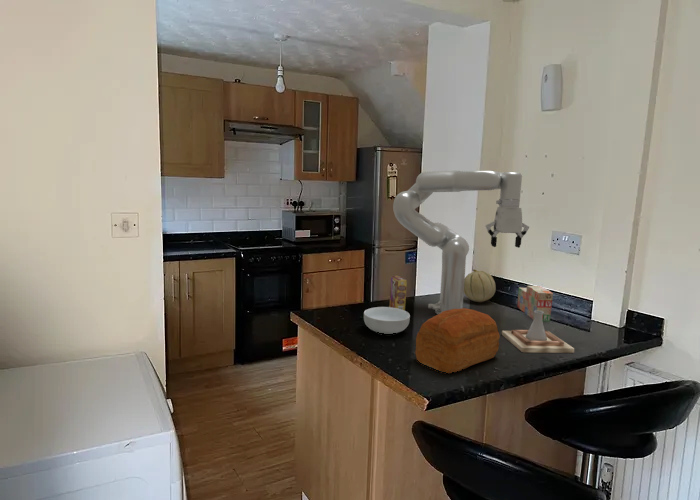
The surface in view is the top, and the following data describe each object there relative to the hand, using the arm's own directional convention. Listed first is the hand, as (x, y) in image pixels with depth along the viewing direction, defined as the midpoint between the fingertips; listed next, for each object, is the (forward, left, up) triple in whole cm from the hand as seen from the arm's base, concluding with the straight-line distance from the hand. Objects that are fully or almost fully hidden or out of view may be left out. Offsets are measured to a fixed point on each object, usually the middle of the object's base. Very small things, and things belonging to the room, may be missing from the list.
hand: (505, 246), depth 193 cm
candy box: (-41, +7, -31) cm, 52 cm away
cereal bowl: (-49, -16, -31) cm, 60 cm away
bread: (-30, -42, -31) cm, 60 cm away
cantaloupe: (+1, +29, -31) cm, 42 cm away
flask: (+3, -27, -29) cm, 40 cm away
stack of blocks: (+19, +10, -31) cm, 37 cm away
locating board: (+3, -27, -30) cm, 41 cm away
